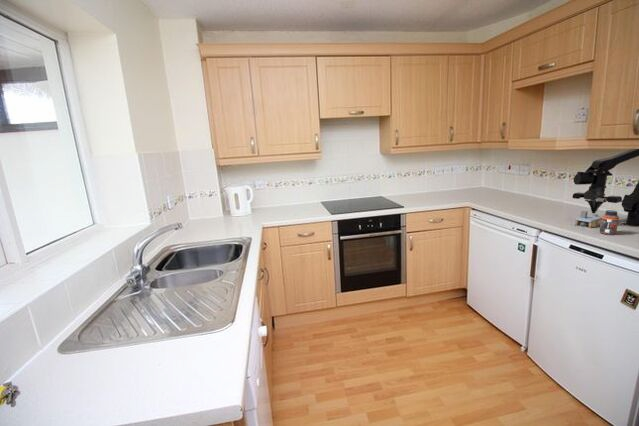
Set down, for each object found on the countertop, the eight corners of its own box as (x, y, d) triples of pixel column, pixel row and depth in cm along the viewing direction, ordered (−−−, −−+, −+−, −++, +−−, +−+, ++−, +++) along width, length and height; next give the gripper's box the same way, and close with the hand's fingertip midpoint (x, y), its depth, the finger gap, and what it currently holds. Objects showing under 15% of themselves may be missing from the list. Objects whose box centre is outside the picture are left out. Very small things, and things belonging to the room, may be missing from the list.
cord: (586, 224, 162) (586, 219, 162) (593, 224, 160) (592, 219, 160) (579, 226, 159) (578, 221, 159) (585, 226, 157) (585, 221, 157)
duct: (586, 221, 166) (587, 216, 166) (602, 224, 160) (603, 219, 160) (574, 225, 161) (575, 220, 160) (590, 228, 155) (591, 222, 154)
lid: (588, 216, 166) (589, 208, 165) (603, 218, 160) (604, 210, 159) (575, 220, 160) (577, 211, 159) (590, 222, 154) (592, 213, 153)
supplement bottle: (610, 235, 142) (614, 212, 139) (596, 232, 147) (599, 210, 145) (619, 234, 143) (623, 211, 141) (604, 231, 149) (608, 209, 146)
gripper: (569, 184, 161) (565, 212, 164) (614, 187, 145) (609, 218, 148) (579, 182, 166) (575, 209, 169) (624, 185, 149) (619, 215, 153)
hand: (593, 213), depth 160 cm, fingers closed
